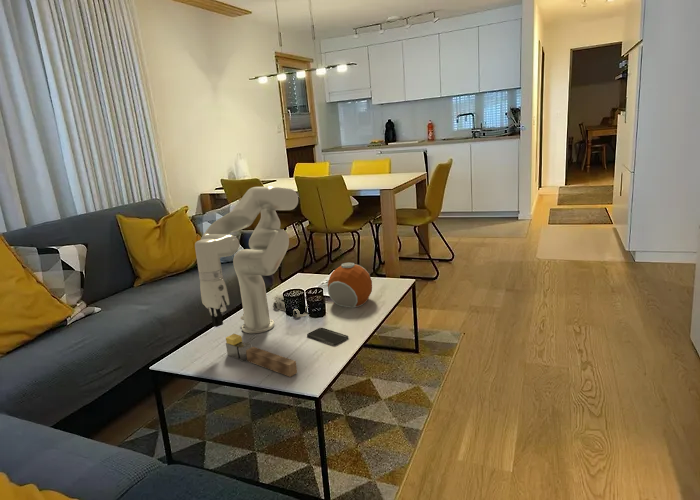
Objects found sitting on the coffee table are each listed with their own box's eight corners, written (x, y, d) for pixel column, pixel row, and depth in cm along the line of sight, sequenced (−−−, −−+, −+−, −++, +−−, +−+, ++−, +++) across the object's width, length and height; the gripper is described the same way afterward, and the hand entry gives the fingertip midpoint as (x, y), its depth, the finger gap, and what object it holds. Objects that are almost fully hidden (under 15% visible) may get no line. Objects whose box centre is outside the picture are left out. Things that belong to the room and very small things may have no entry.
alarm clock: (380, 297, 207) (377, 259, 202) (360, 312, 192) (357, 271, 188) (343, 293, 216) (340, 256, 212) (321, 306, 202) (317, 268, 198)
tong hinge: (226, 355, 164) (224, 343, 163) (236, 350, 168) (234, 338, 167) (245, 362, 158) (243, 350, 157) (255, 357, 161) (253, 344, 160)
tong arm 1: (247, 361, 158) (245, 350, 157) (251, 359, 159) (249, 348, 158) (290, 376, 146) (288, 365, 145) (293, 374, 147) (292, 363, 146)
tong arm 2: (251, 359, 160) (249, 348, 159) (254, 357, 161) (253, 346, 160) (293, 374, 147) (292, 363, 146) (297, 372, 148) (295, 361, 147)
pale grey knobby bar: (297, 319, 191) (296, 308, 190) (267, 306, 210) (266, 295, 209) (320, 311, 198) (318, 300, 197) (289, 298, 217) (287, 288, 215)
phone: (320, 327, 179) (349, 336, 169) (321, 329, 180) (349, 339, 170) (305, 334, 174) (334, 344, 164) (305, 337, 174) (334, 347, 164)
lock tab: (226, 342, 163) (225, 337, 163) (234, 338, 166) (234, 333, 165) (233, 345, 161) (232, 340, 160) (242, 341, 163) (241, 335, 163)
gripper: (233, 274, 160) (240, 325, 164) (207, 270, 169) (214, 318, 173) (214, 280, 154) (222, 333, 158) (188, 275, 163) (196, 325, 168)
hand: (218, 325), depth 166 cm, fingers closed
